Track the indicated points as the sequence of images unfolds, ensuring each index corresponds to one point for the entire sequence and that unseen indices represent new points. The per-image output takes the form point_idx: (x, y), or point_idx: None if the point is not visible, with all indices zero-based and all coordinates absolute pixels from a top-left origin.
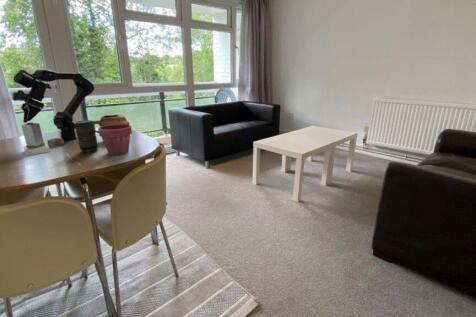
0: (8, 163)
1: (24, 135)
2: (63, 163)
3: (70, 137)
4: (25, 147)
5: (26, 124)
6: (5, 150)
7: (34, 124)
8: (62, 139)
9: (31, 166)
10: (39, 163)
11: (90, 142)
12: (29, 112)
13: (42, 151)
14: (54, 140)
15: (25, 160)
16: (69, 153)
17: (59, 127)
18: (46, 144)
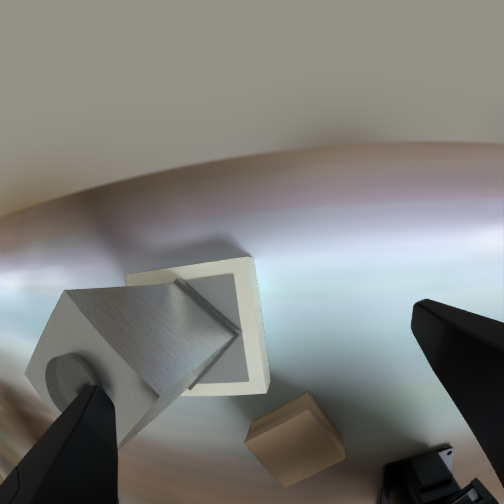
0: (68, 207)
1: (133, 288)
2: (5, 376)
3: (389, 500)
4: (207, 270)
5: (71, 346)
6: (353, 148)
7: (52, 410)
8: (281, 482)
9: (9, 288)
10: (22, 315)
11: None
12: (15, 489)
13: None
14: (267, 447)
15: (70, 269)
16: None
17: (476, 490)
18: (217, 393)
